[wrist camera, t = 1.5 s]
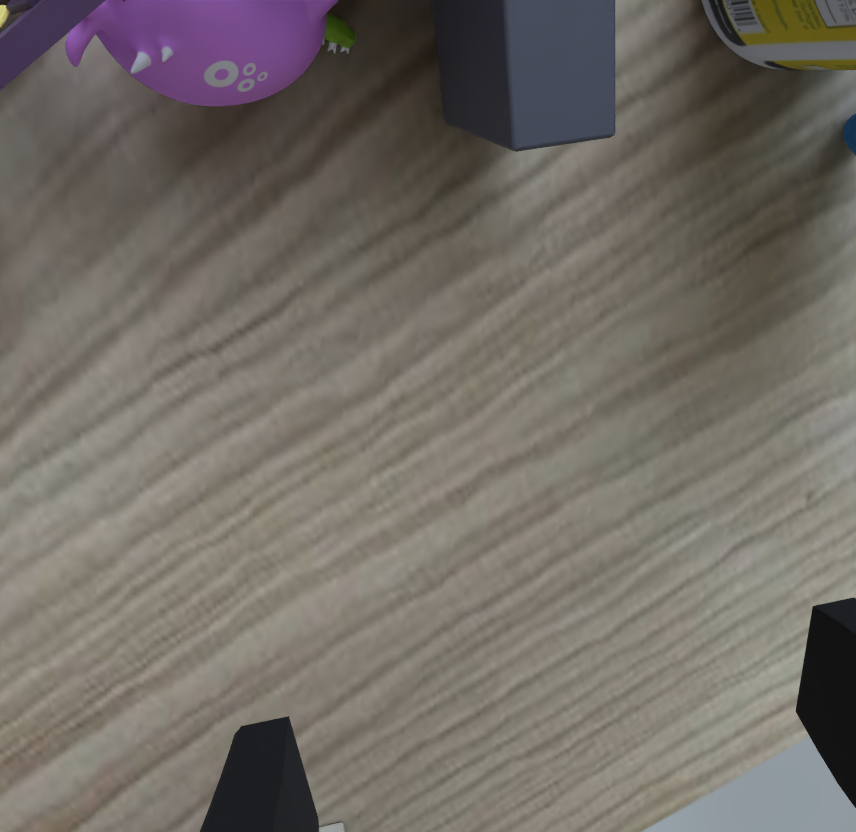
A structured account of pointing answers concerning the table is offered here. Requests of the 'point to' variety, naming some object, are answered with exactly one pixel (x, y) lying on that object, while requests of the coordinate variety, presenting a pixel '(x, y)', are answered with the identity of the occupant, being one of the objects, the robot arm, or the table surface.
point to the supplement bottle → (788, 32)
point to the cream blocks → (333, 828)
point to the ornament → (850, 133)
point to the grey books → (528, 69)
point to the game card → (182, 42)
